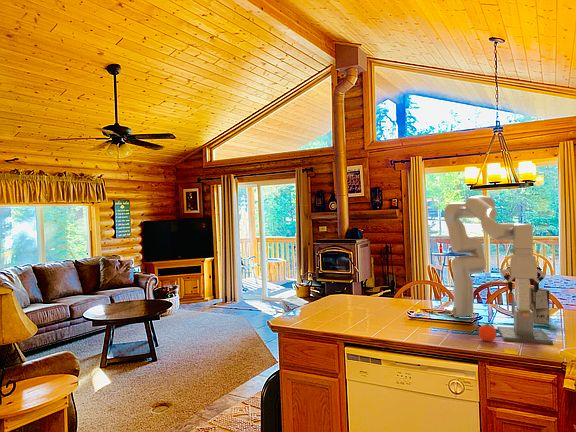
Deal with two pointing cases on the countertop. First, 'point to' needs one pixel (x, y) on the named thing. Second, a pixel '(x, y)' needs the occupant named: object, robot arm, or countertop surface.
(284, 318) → the countertop surface
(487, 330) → the clementine
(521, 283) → the column
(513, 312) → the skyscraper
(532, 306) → the coffee box
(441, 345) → the countertop surface
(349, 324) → the countertop surface
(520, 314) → the stand
